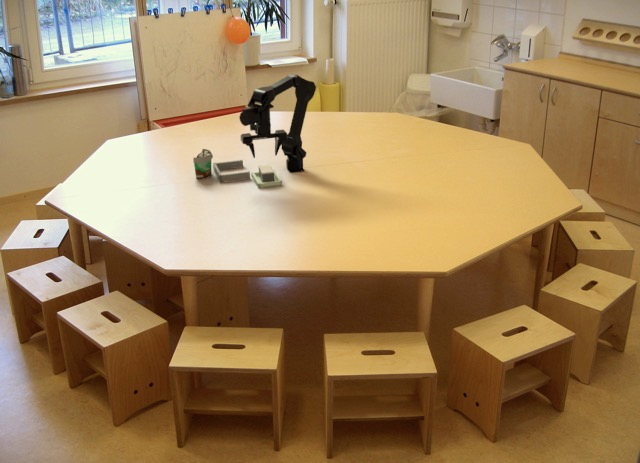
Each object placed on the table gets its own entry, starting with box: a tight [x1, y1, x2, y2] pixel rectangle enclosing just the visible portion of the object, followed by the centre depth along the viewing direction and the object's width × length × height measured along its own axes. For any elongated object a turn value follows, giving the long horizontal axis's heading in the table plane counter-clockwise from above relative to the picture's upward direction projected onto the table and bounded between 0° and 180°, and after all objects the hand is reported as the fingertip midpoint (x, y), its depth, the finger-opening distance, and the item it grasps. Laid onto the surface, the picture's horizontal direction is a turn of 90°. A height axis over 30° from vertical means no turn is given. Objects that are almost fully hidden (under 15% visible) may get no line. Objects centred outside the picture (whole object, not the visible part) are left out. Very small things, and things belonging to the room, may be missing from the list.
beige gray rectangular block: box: [258, 164, 274, 183], centre depth 320 cm, size 5×9×5 cm, turn 13°
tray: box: [250, 169, 283, 189], centre depth 321 cm, size 10×14×2 cm
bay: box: [212, 159, 251, 183], centre depth 329 cm, size 13×16×3 cm
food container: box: [192, 148, 214, 180], centre depth 326 cm, size 12×6×10 cm, turn 168°
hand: (265, 156), depth 317 cm, fingers open, 9 cm apart
